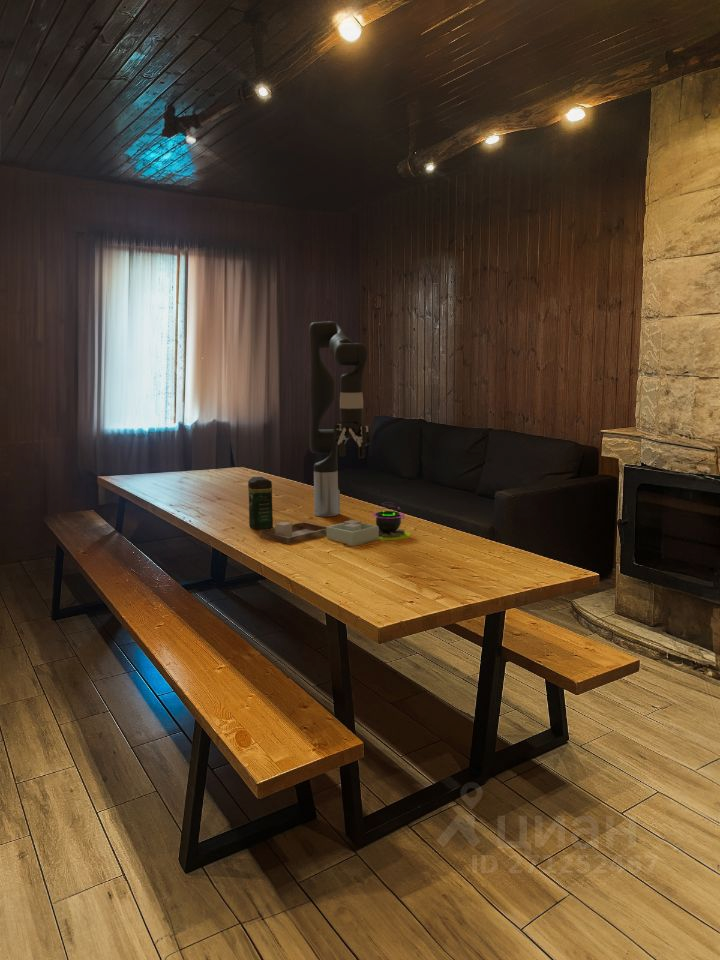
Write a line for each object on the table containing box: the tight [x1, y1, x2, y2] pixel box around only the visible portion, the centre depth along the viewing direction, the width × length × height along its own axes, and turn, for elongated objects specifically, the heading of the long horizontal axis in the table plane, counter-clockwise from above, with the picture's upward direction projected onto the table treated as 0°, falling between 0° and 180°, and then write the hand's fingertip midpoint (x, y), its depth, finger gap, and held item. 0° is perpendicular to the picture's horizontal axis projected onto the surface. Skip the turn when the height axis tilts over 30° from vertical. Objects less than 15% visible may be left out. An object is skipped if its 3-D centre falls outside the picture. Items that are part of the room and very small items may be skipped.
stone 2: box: [343, 519, 362, 525], centre depth 237 cm, size 4×4×5 cm
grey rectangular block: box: [344, 523, 361, 532], centre depth 232 cm, size 4×4×5 cm
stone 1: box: [274, 521, 293, 537], centre depth 235 cm, size 4×4×5 cm
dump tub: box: [326, 522, 380, 547], centre depth 235 cm, size 12×12×5 cm
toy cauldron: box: [371, 502, 411, 541], centre depth 241 cm, size 15×15×11 cm
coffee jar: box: [247, 476, 274, 531], centre depth 251 cm, size 10×8×19 cm
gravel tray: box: [259, 521, 327, 545], centre depth 239 cm, size 19×14×3 cm
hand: (351, 457), depth 228 cm, fingers open, 8 cm apart
